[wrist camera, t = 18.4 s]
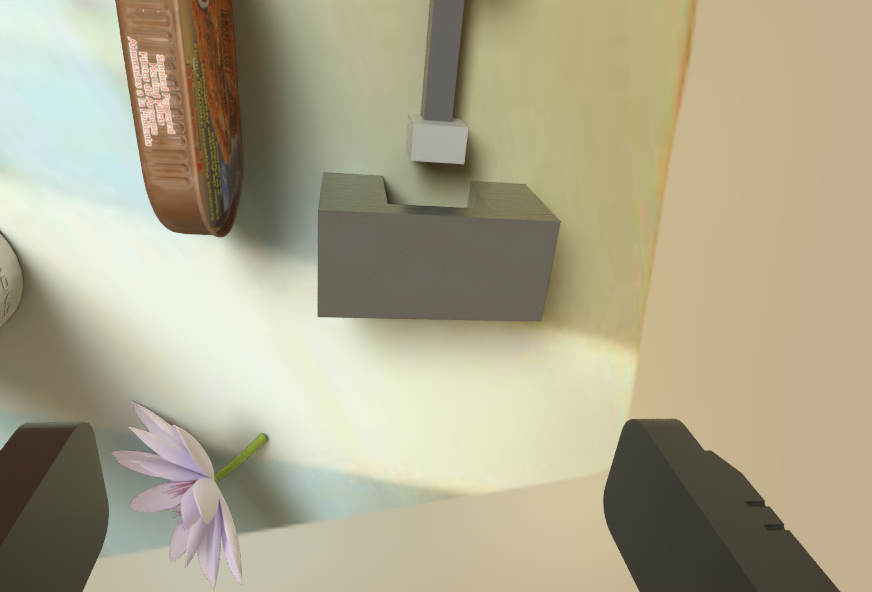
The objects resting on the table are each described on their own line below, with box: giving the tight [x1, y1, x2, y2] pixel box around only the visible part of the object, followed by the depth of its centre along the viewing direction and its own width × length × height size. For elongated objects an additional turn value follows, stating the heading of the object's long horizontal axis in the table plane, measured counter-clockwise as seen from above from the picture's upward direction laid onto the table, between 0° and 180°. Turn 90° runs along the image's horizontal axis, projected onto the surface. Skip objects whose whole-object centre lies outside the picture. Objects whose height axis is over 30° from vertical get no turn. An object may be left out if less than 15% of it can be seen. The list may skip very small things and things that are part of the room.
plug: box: [406, 0, 468, 164], centre depth 30 cm, size 4×16×4 cm, turn 174°
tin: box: [115, 0, 243, 237], centre depth 28 cm, size 15×3×8 cm, turn 176°
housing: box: [318, 173, 561, 321], centre depth 34 cm, size 12×6×7 cm, turn 84°
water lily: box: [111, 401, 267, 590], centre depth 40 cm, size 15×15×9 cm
